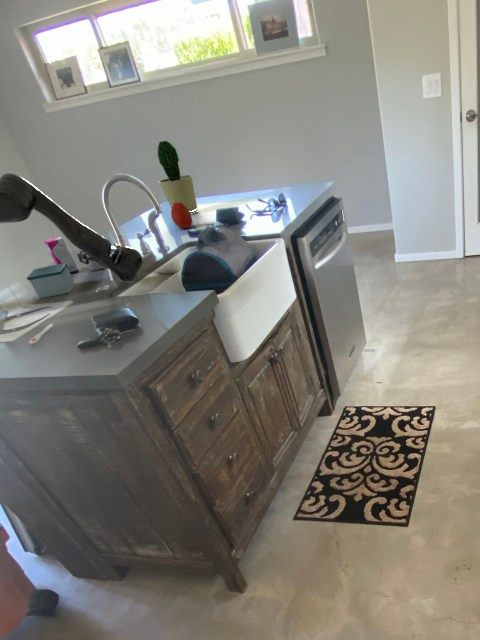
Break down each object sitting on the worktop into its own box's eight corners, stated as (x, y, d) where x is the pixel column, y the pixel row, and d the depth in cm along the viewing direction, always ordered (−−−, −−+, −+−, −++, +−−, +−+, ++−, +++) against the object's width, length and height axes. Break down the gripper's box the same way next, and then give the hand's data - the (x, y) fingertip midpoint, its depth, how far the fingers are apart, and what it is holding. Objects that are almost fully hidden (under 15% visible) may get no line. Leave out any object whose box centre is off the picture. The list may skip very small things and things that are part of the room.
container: (38, 299, 173) (26, 277, 169) (45, 289, 181) (34, 269, 177) (70, 292, 175) (60, 271, 170) (76, 283, 182) (66, 262, 178)
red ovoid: (172, 231, 228) (162, 203, 221) (184, 225, 233) (175, 198, 226) (186, 231, 225) (176, 203, 218) (198, 225, 230) (189, 198, 223)
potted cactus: (172, 219, 247) (146, 143, 227) (169, 214, 258) (144, 141, 238) (204, 212, 250) (181, 137, 230) (199, 207, 261) (177, 135, 241)
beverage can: (90, 268, 196) (73, 233, 188) (107, 264, 197) (92, 230, 189) (89, 272, 191) (72, 237, 183) (106, 269, 192) (91, 233, 184)
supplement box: (75, 268, 198) (59, 236, 190) (79, 271, 194) (63, 238, 186) (59, 273, 195) (43, 240, 188) (63, 276, 192) (46, 242, 184)
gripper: (124, 239, 177) (108, 234, 187) (83, 251, 171) (68, 245, 181) (134, 262, 182) (117, 256, 192) (94, 275, 176) (79, 267, 186)
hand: (93, 250), depth 186 cm, fingers open, 8 cm apart
